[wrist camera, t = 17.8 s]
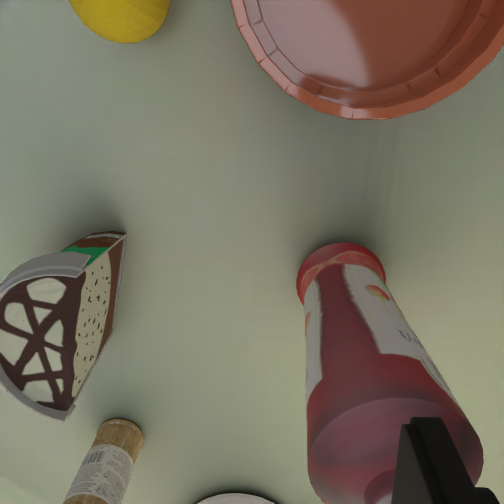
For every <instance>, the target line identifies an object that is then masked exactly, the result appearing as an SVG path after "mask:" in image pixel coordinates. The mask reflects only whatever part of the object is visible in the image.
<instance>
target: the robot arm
mask: <svg viewBox="0 0 504 504" xmlns="http://www.w3.org/2000/svg"><path fill="white" fill-rule="evenodd" d="M391 504H500V503H499V501H498V500H497V498H496V496H495V495H494V493H493V492H492V491H491V490H490V489H489V488H484V487H474V485H473V483H472V481H471V479H470V476H469V474H468V472H467V470H466V468H465V466H464V464H463V462H462V459H461V457H460V455H459V453H458V451H457V449H456V447H455V444H454V442H453V440H452V438H451V436H450V434H449V432H448V430H447V427H446V425H445V423H444V421H443V420H442V419H441V418H440V417H412V418H411V419H410V423H409V424H402V426H401V431H400V439H399V446H398V454H397V462H396V469H395V477H394V484H393V492H392V499H391Z"/></svg>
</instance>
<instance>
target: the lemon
mask: <svg viewBox="0 0 504 504" xmlns="http://www.w3.org/2000/svg"><path fill="white" fill-rule="evenodd" d="M69 2H70V4H71V6H72V8H73V10H74V12H75V13H76V14H77V16H78V17H79V18H80V20H81V21H82V22H83V23H84V24H85V25H86V26H87V27H88V28H89V29H91V30H92V31H93V32H94V33H96V34H97V35H99V36H101V37H103V38H105V39H107V40H110V41H114V42H118V43H136V42H139V41H141V40H144V39H147V38H148V37H150V36H151V35H152V34H154V33H155V32H156V31H157V30H158V29H159V28H160V26H161V25H162V24H163V23H164V20H165V18H166V16H167V13H168V10H169V4H170V0H69Z"/></svg>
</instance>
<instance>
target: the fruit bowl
mask: <svg viewBox="0 0 504 504" xmlns="http://www.w3.org/2000/svg"><path fill="white" fill-rule="evenodd" d="M230 1H231V5H232V8H233V12H234V16H235V19H236V23H237V27H238V29H239V31H240V33H241V35H242V36H243V38H244V40H245V42H246V44H247V45H248V47H249V49H250V51H251V53H252V54H253V56H254V58H255V60H256V62H257V63H259V66H260V67H261V68H262V69H263V70H264V71H265V72H266V73H267V74H268V75H269V76H270V77H271V78H272V79H273V80H274V81H275V82H276V84H277V85H278V86H279V87H280V88H281V89H282V90H283V91H285V92H286V93H287V94H289V95H291V96H292V97H294V98H296V99H297V100H299V101H301V102H303V103H304V104H306V105H308V106H309V107H311V108H313V109H314V110H317V111H320V112H323V113H327V114H331V115H335V116H339V117H342V118H346V119H350V120H351V119H352V120H371V119H391V118H395V117H398V116H402V115H405V114H409V113H412V112H416V111H419V110H423V109H425V108H428V107H429V106H431V105H433V104H435V103H437V102H438V101H440V100H442V99H444V98H445V97H447V96H449V95H451V94H452V93H454V92H456V91H458V90H459V89H461V88H463V87H464V86H465V85H466V84H467V83H468V82H469V81H470V80H471V79H472V78H473V77H475V76H476V75H477V74H478V73H479V72H480V71H481V70H482V69H483V68H484V67H485V66H487V65H488V64H489V63H490V62H491V61H492V60H493V59H494V58H495V56H496V55H497V53H498V52H499V51H500V49H501V48H502V46H503V45H504V0H230Z"/></svg>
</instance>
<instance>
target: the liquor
mask: <svg viewBox="0 0 504 504" xmlns="http://www.w3.org/2000/svg"><path fill="white" fill-rule="evenodd" d="M385 282H386V278H385V271H384V269H383V266H382V264H381V262H380V261H379V259H378V258H377V257H376V256H375V255H374V254H373V253H372V252H371V251H369V250H368V249H366V248H365V247H362V246H360V245H357V244H352V243H334V244H329V245H326V246H324V247H321V248H319V249H318V250H316V251H315V252H313V253H312V254H311V255H310V256H309V257H307V259H306V260H305V261H304V263H303V264H302V266H301V268H300V270H299V272H298V276H297V287H296V288H297V292H298V296H299V298H300V300H301V302H302V304H303V305H304V314H305V338H306V420H307V458H308V474H309V479H310V483H311V485H312V487H313V489H314V491H315V492H316V494H317V495H318V497H319V498H320V499H321V500H322V501H323V502H324V504H391V499H392V492H393V484H394V477H395V469H396V462H397V454H398V446H399V439H400V431H401V426H402V424H409V423H410V419H411V418H412V417H440V418H441V419H442V420H443V421H444V423H445V425H446V427H447V430H448V432H449V434H450V436H451V438H452V440H453V442H454V444H455V447H456V449H457V451H458V453H459V455H460V457H461V459H462V462H463V464H464V466H465V468H466V470H467V472H468V474H469V476H470V479H471V481H472V483H473V485H474V487H475V485H476V483H477V481H478V479H479V477H480V475H481V471H482V467H483V463H484V462H483V448H482V445H481V442H480V439H479V437H478V435H477V433H476V432H475V430H474V428H473V427H472V425H471V424H470V422H469V420H468V419H467V417H466V415H465V414H464V412H463V411H462V409H461V407H460V406H459V404H458V402H457V401H456V399H455V397H454V396H453V394H452V392H451V391H450V389H449V387H448V386H447V384H446V382H445V381H444V379H443V377H442V375H441V374H440V372H439V370H438V369H437V367H436V365H435V364H434V362H433V361H432V359H431V358H430V356H429V355H428V353H427V351H426V350H425V348H424V347H423V345H422V344H421V342H420V341H419V339H418V338H417V336H416V335H415V333H414V332H413V330H412V329H411V327H410V326H409V324H408V322H407V321H406V319H405V317H404V315H403V314H402V312H401V310H400V309H399V307H398V305H397V304H396V302H395V300H394V299H393V297H392V295H391V293H390V292H389V290H388V288H387V286H386V284H385Z"/></svg>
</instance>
